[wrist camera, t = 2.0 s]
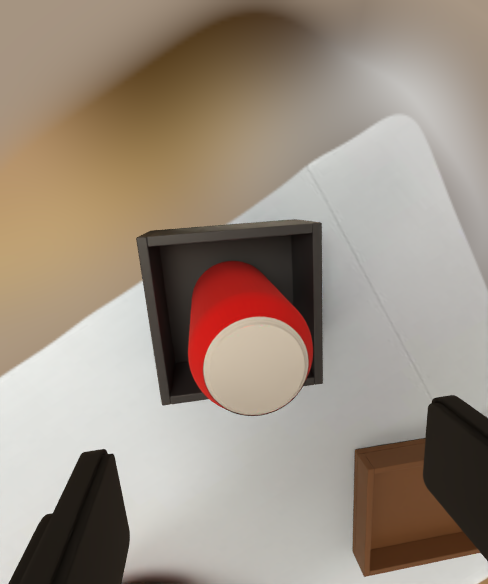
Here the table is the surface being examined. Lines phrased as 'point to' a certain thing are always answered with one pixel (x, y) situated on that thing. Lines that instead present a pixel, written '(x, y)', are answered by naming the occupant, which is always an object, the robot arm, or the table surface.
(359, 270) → the table surface
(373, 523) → the tray
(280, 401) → the beverage can
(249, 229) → the bin
